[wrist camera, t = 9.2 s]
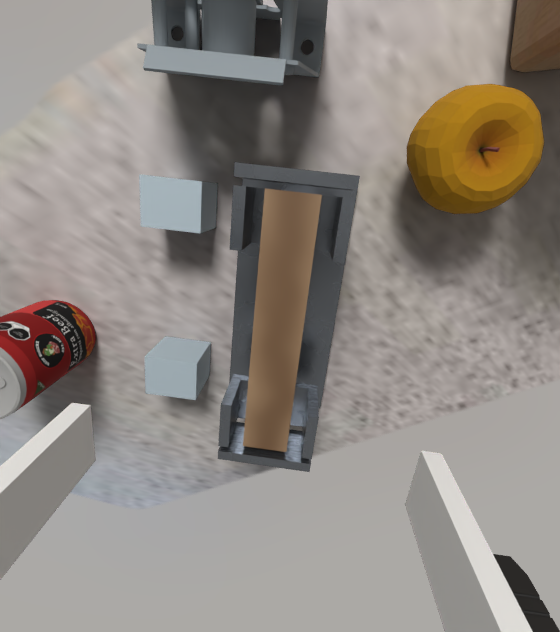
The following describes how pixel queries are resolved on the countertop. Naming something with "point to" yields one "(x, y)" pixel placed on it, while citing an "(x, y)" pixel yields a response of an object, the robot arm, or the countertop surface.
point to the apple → (475, 148)
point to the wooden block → (536, 36)
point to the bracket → (235, 39)
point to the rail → (279, 314)
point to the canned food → (40, 349)
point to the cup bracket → (319, 307)
